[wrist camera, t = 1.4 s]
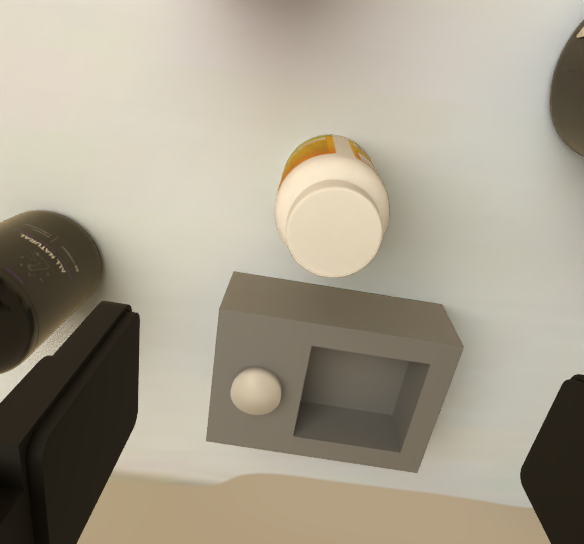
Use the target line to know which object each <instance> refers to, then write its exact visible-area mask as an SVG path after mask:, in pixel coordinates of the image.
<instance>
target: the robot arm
mask: <svg viewBox="0 0 584 544" xmlns="http://www.w3.org/2000/svg"><path fill="white" fill-rule="evenodd" d="M139 329H140V317H139V314H138V313H135V312H132V309H131V306H130V305H127V304H120V303H114V302H108V301H102V302H101V303H99V304H98V306H97V307H96V308H95V309H94V310H93V311H92V312H91V313H90V314H89V316H88V317H87V318H86V319H85V320H84V321H83V322H82V323H81V325H80V326H79V327H78V328H77V329H76V330H75V331H74V332H73V333H72V335H71V336H70V337H69V338H68V339H67V340H66V341H65V342H64V344H63V345H62V346H61V347H60V348H59V349H58V350H57V351H56V352H55V354H54V355H53V356H50V355H49V356H46V357H44V358H42V359H41V360H40V361H39V362H38V363H37V364H36V365H35V366H34V367H33V368H32V369H31V371H30V372H29V373H28V374H27V375H26V376H25V377H24V378H23V379H22V380H21V381H20V382H19V384H18V385H17V386H16V387H15V388H14V389H13V390H12V391H11V392H10V393H9V394H8V395H7V397H6V398H5V399H4V400H3V401H2V402H1V403H0V544H77V541H78V539H79V537H80V535H81V533H82V531H83V529H84V527H85V525H86V523H87V521H88V519H89V517H90V515H91V513H92V511H93V509H94V507H95V505H96V503H97V501H98V499H99V497H100V495H101V493H102V491H103V489H104V487H105V485H106V483H107V481H108V479H109V477H110V475H111V473H112V471H113V469H114V467H115V465H116V463H117V461H118V458H119V456H120V454H121V452H122V450H123V448H124V446H125V444H126V442H127V440H128V438H129V436H130V434H131V432H132V430H133V428H134V425H135V422H136V419H137V413H138V377H139ZM520 479H521V483H522V486H523V488H524V490H525V492H526V494H527V496H528V498H529V500H530V502H531V504H532V506H533V508H534V510H535V512H536V514H537V516H538V518H539V520H540V522H541V524H542V526H543V528H544V530H545V532H546V534H547V536H548V538H549V540H550V542H551V544H584V375H580V374H578V375H574V376H573V377H572V378H571V379H569V380H566V381H565V382H564V383H563V384H562V386H561V388H560V390H559V392H558V394H557V396H556V398H555V400H554V402H553V404H552V406H551V408H550V410H549V412H548V414H547V417H546V419H545V421H544V423H543V425H542V427H541V429H540V431H539V433H538V435H537V437H536V439H535V441H534V443H533V445H532V447H531V449H530V451H529V453H528V455H527V457H526V460H525V462H524V464H523V466H522V468H521V473H520Z"/></svg>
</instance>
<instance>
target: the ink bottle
mask: <svg viewBox="0 0 584 544" xmlns="http://www.w3.org/2000/svg"><path fill="white" fill-rule="evenodd" d="M550 106H551V114H552V119H553V122H554V125H555V128H556V130H557V132H558V134H559V135H560V137H561V138H562V140H563V141H564V142H565V143H566V144H567V145H568V146H569V147H570V148H571V149H573V150H574V151H575V152H577V153H578V154H580V155H582V156H584V20H583V21H582V22H581V23H580V25H579V26H578V27H577V28H576V30H575V31H574V32H573V34H572V35H571V37H570V39H569V40H568V42H567V44H566V45H565V47H564V49H563V51H562V53H561V55H560V58H559V60H558V63H557V65H556V68H555V72H554V75H553V80H552V85H551V94H550Z"/></svg>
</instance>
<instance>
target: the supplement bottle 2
mask: <svg viewBox="0 0 584 544" xmlns="http://www.w3.org/2000/svg"><path fill="white" fill-rule="evenodd" d="M389 214H390V210H389V200H388V195H387V192H386V189H385V186H384V184H383V182H382V180H381V179H380V177H379V175H378V173H377V171H376V169H375V168H374V166H373V164H372V162H371V160H370V159H369V157H368V156H367V154H366V153H365V151H364V150H363V149H362V148H361V147H360V146H359V145H358V144H356V143H355V142H353V141H352V140H350V139H348V138H345V137H343V136H338V135H320V136H317V137H313V138H311V139H309V140H307V141H305V142H303V143H302V144H301V145H299V146H298V147H297V148H296V149H295V150H294V152H293V153H292V154H291V156H290V157H289V159H288V161H287V163H286V165H285V168H284V171H283V175H282V179H281V182H280V185H279V189H278V192H277V197H276V202H275V220H276V224H277V229H278V231H279V234H280V236H281V238H282V240H283V241H284V243H285V244H286V246H287V247H288V248H289V250H290V252H291V254H292V256H293V257H294V259H295V260H296V261H297V262H298V263H299V264H300V265H301V266H302V267H303V268H304V269H306V270H308V271H309V272H311V273H313V274H316V275H319V276H323V277H331V278H336V277H344V276H348V275H351V274H353V273H356V272H357V271H359V270H361V269H362V268H364V267H365V266H366V265H367V264H368V263H370V261H371V260H372V259H373V258H374V256H375V255H376V253H377V251H378V249H379V247H380V244H381V240H382V238H383V236H384V234H385V231H386V229H387V226H388V221H389Z"/></svg>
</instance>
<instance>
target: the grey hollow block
mask: <svg viewBox="0 0 584 544" xmlns="http://www.w3.org/2000/svg"><path fill="white" fill-rule="evenodd" d="M463 348H464V346H463V344H462V342H461V340H460V339H459V337H458V335H457V333H456V331H455V329H454V327H453V325H452V323H451V321H450V319H449V317H448V315H447V313H446V311H445V310H444V308H443V306H442V305H441V304H435V303H428V302H422V301H416V300H410V299H403V298H397V297H391V296H384V295H378V294H372V293H365V292H359V291H353V290H347V289H340V288H334V287H328V286H321V285H315V284H309V283H302V282H296V281H290V280H284V279H277V278H271V277H265V276H258V275H252V274H246V273H239V272H233V275H232V277H231V280H230V282H229V285H228V288H227V290H226V293H225V295H224V298H223V300H222V303H221V306H220V308H219V317H218V327H217V337H216V347H215V357H214V367H213V377H212V387H211V397H210V407H209V417H208V427H207V437H206V441H209V442H215V443H222V444H229V445H235V446H242V447H249V448H255V449H262V450H268V451H275V452H282V453H288V454H295V455H302V456H308V457H315V458H322V459H328V460H335V461H341V462H348V463H355V464H361V465H368V466H375V467H381V468H388V469H395V470H401V471H408V472H414V473H417V472H418V469H419V467H420V464H421V461H422V459H423V456H424V453H425V451H426V448H427V445H428V442H429V440H430V437H431V434H432V432H433V429H434V426H435V423H436V421H437V418H438V415H439V413H440V410H441V407H442V404H443V402H444V399H445V396H446V394H447V391H448V388H449V386H450V383H451V380H452V377H453V375H454V372H455V369H456V367H457V364H458V361H459V358H460V356H461V353H462V350H463Z"/></svg>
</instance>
